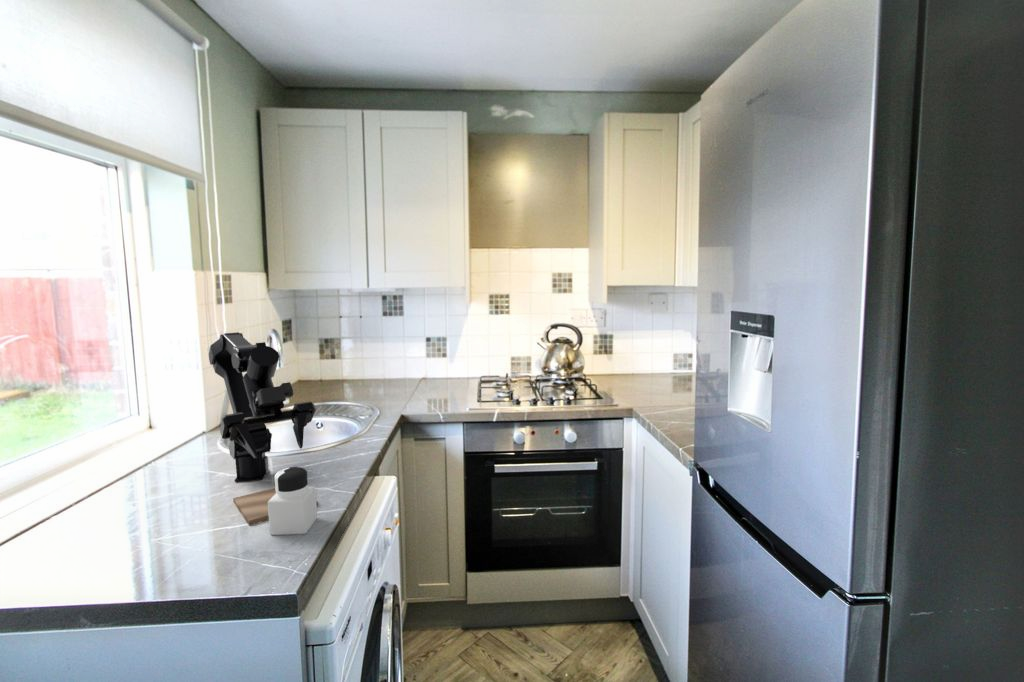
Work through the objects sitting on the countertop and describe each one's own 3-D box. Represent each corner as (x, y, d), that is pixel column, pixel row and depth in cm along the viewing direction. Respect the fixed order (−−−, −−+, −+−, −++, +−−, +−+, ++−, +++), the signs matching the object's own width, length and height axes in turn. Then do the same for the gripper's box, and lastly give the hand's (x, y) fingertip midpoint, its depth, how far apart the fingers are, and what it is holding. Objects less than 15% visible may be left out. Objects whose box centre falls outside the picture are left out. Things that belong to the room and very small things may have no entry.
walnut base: (233, 502, 118) (233, 498, 118) (297, 485, 126) (297, 481, 126) (249, 525, 107) (248, 520, 107) (317, 505, 116) (317, 501, 116)
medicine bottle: (318, 517, 110) (314, 463, 108) (305, 534, 103) (302, 476, 101) (283, 518, 110) (279, 464, 108) (269, 535, 103) (264, 477, 101)
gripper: (218, 377, 107) (235, 443, 100) (310, 366, 119) (331, 424, 112) (213, 407, 114) (229, 470, 107) (300, 393, 126) (320, 449, 119)
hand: (279, 452), depth 111 cm, fingers open, 9 cm apart
